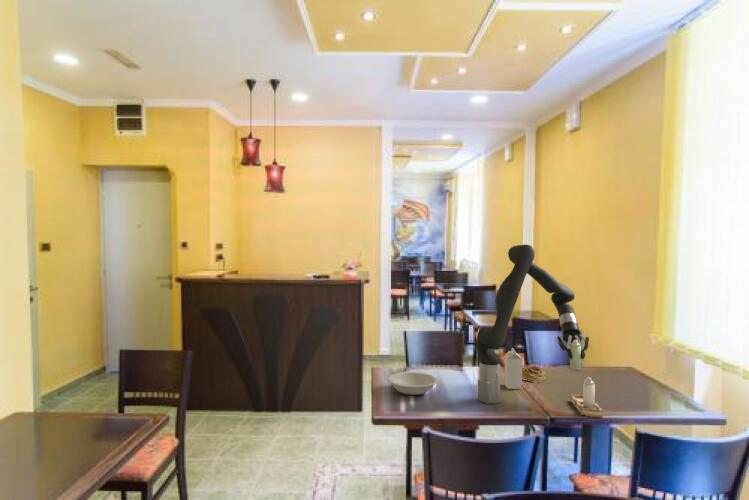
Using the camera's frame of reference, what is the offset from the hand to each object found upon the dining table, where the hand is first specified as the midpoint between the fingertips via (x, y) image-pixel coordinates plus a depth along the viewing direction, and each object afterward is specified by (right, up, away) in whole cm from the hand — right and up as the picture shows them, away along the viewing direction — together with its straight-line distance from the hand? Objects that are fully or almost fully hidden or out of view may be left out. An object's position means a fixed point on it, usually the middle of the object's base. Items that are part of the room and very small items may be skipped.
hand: (576, 357), depth 196 cm
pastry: (-4, -22, +43) cm, 48 cm away
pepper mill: (0, -5, +2) cm, 6 cm away
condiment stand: (+3, -22, -2) cm, 22 cm away
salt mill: (+2, -20, -6) cm, 21 cm away
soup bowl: (-70, -21, +19) cm, 76 cm away
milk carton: (-19, -21, +28) cm, 40 cm away
